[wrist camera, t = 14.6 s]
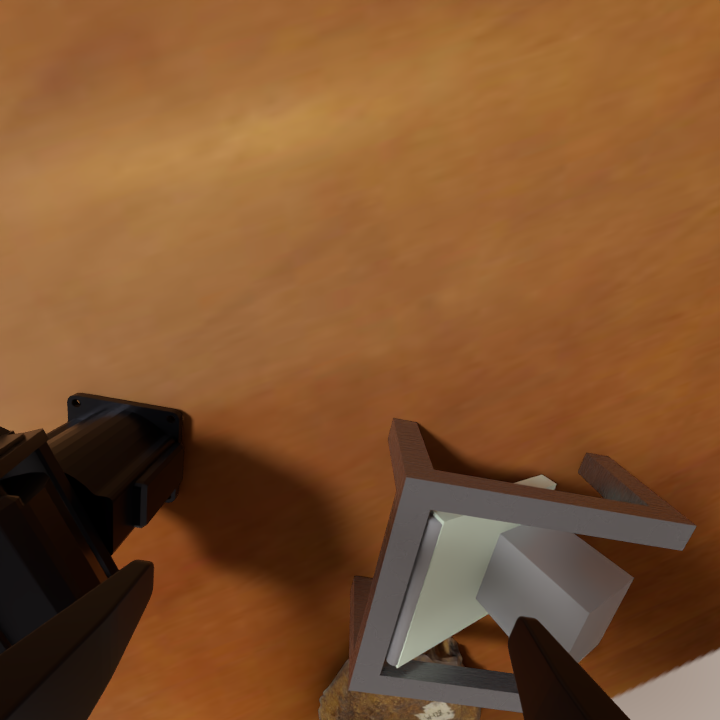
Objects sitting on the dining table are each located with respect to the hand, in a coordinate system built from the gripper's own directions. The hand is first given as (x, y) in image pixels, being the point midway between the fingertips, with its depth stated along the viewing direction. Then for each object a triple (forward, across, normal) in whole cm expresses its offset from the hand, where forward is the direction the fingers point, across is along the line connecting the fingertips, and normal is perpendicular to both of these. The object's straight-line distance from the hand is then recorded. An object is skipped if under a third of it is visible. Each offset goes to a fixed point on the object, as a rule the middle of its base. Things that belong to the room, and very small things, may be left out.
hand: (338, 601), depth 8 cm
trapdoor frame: (+13, -10, +8) cm, 18 cm away
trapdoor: (+10, -9, +8) cm, 16 cm away
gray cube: (+11, -12, +8) cm, 18 cm away
